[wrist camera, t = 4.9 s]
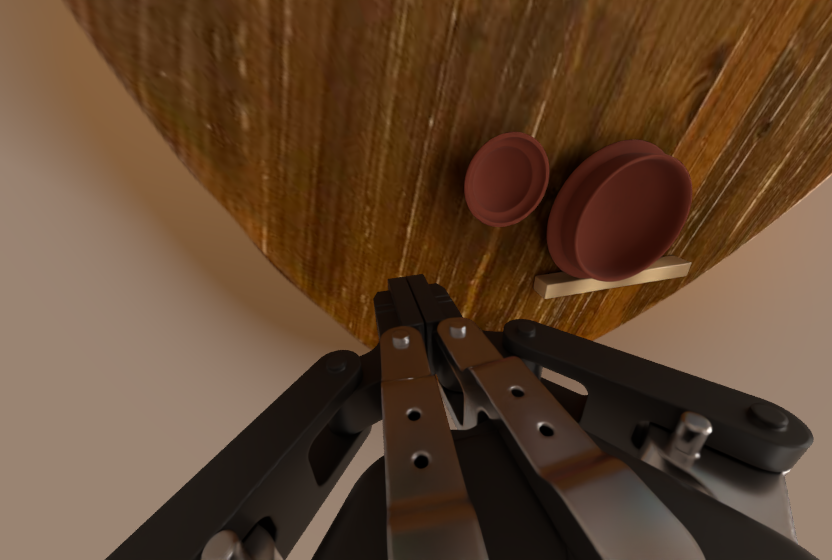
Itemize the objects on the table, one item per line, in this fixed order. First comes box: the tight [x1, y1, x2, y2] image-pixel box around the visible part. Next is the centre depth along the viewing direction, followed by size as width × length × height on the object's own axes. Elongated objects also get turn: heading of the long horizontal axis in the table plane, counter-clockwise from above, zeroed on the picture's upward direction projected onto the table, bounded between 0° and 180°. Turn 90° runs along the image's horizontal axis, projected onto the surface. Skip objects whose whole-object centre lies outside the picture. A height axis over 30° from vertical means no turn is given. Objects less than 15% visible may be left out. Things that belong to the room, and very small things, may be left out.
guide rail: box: [533, 256, 691, 299], centre depth 31 cm, size 16×2×2 cm, turn 92°
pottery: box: [464, 132, 692, 282], centre depth 24 cm, size 12×20×4 cm, turn 73°
